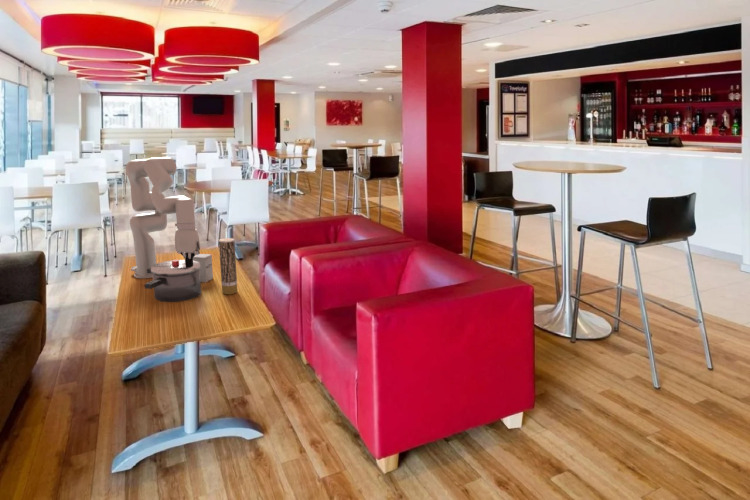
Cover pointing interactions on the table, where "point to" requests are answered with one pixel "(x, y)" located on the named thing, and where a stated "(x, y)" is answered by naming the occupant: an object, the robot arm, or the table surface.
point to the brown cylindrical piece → (228, 265)
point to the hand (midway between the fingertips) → (189, 266)
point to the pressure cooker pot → (175, 286)
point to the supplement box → (205, 266)
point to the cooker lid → (174, 267)
